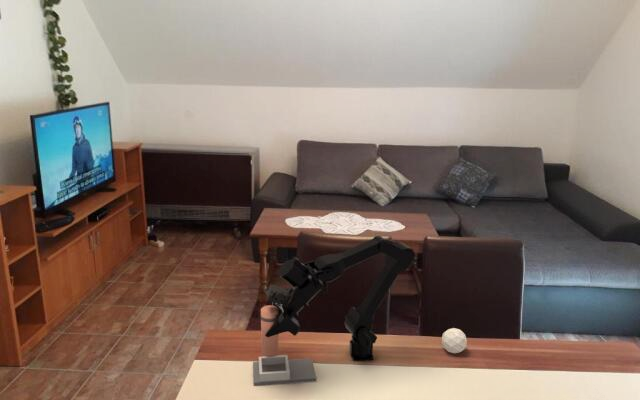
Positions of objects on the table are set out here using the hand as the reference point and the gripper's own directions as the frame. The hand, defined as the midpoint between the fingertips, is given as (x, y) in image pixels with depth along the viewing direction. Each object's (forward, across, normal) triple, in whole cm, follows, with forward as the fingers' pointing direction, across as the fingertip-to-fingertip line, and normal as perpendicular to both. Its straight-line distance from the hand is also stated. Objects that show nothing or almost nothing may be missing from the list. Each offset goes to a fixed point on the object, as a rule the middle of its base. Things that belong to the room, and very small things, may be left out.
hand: (265, 331), depth 147 cm
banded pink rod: (+4, 0, +6) cm, 7 cm away
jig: (+6, +2, +13) cm, 14 cm away
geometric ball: (-33, 0, +53) cm, 62 cm away
